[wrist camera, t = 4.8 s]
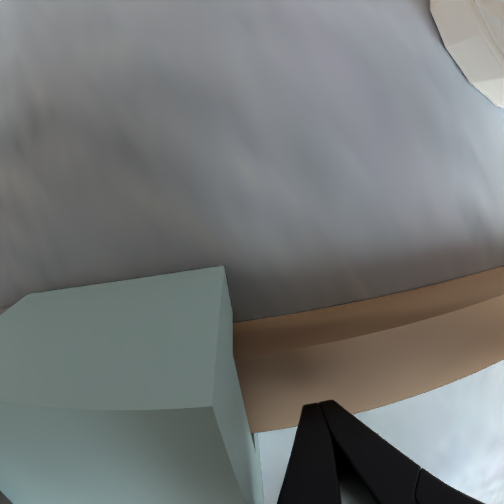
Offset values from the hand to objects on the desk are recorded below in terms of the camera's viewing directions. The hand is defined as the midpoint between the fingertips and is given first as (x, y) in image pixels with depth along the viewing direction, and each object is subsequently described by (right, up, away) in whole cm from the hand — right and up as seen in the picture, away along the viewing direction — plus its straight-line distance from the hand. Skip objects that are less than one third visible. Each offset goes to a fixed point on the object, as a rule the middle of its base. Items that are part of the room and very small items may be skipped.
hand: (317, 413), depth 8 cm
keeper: (-6, 0, +3) cm, 6 cm away
